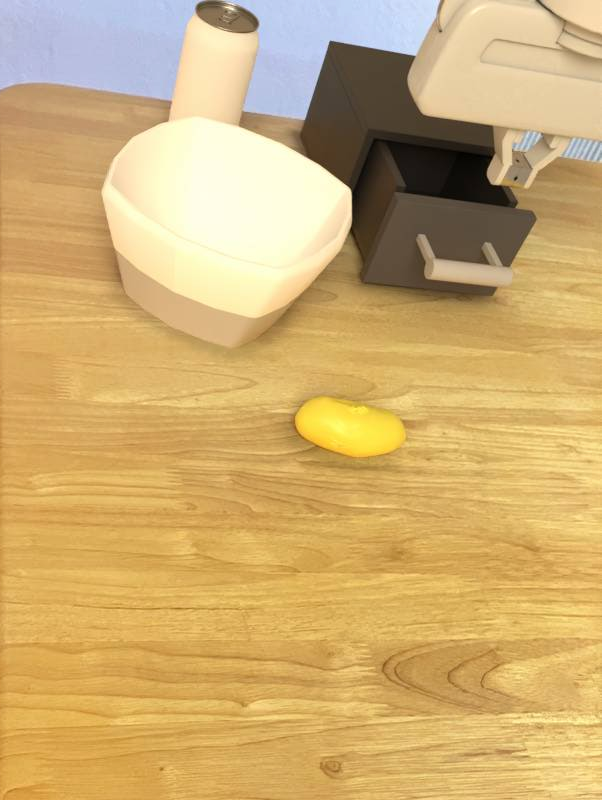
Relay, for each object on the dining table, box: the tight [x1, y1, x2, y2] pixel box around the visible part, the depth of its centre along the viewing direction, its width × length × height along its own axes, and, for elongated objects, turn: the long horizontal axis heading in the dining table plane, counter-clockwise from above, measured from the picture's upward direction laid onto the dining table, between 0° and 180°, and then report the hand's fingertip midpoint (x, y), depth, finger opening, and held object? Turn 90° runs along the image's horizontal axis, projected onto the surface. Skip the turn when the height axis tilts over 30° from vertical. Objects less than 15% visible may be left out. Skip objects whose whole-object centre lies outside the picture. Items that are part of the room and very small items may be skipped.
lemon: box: [294, 395, 407, 459], centre depth 62 cm, size 4×8×4 cm, turn 82°
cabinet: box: [299, 40, 514, 230], centre depth 83 cm, size 16×14×10 cm
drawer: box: [351, 138, 538, 297], centre depth 76 cm, size 20×12×8 cm, turn 7°
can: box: [167, 0, 260, 127], centre depth 80 cm, size 6×6×12 cm
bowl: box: [100, 115, 352, 349], centre depth 67 cm, size 18×18×9 cm
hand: (506, 182), depth 66 cm, fingers closed
